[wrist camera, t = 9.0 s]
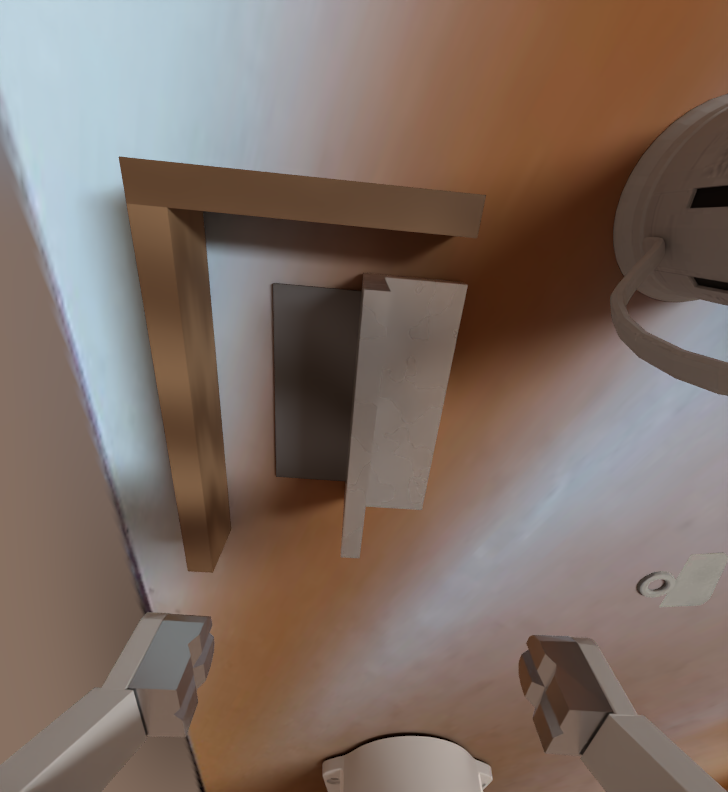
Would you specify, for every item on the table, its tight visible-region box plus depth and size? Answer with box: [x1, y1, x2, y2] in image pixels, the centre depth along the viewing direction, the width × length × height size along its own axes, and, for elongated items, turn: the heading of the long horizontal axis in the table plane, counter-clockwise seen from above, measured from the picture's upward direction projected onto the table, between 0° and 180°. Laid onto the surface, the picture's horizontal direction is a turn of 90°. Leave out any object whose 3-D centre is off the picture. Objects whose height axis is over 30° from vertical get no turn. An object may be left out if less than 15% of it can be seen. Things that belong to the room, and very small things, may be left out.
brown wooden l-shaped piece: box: [119, 157, 486, 573], centre depth 20 cm, size 22×14×4 cm, turn 175°
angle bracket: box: [341, 273, 468, 558], centre depth 19 cm, size 14×5×5 cm, turn 175°
